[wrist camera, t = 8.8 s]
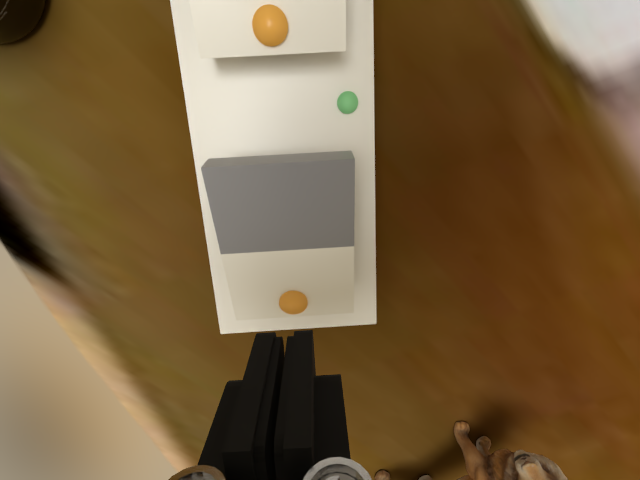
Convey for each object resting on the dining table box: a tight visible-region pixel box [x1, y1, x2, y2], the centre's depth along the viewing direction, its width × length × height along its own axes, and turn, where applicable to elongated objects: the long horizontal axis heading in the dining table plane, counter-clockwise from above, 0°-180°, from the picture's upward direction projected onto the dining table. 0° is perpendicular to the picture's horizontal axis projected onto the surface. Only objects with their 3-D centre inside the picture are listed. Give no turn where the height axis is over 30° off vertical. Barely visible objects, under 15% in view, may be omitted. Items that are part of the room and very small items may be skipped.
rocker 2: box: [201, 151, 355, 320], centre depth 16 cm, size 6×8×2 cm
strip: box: [170, 0, 376, 334], centre depth 17 cm, size 9×30×6 cm, turn 3°
